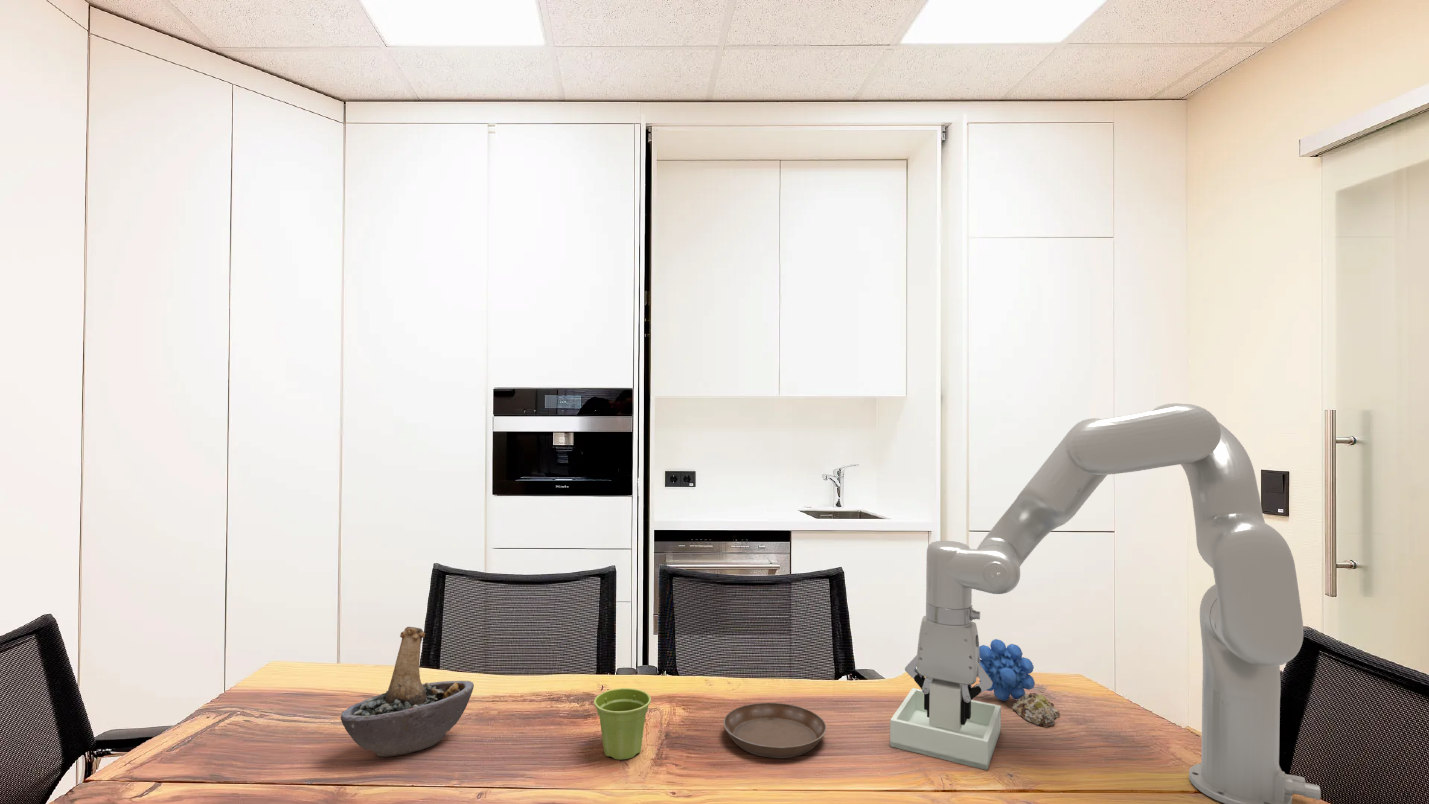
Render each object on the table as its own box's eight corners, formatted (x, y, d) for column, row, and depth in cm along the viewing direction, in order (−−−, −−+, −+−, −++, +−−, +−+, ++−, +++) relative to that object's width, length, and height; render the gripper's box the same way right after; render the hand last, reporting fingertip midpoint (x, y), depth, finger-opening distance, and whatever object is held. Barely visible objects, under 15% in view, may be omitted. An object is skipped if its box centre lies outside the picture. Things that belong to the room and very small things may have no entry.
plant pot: (596, 769, 113) (597, 714, 113) (590, 741, 123) (591, 690, 122) (655, 761, 116) (655, 708, 116) (645, 735, 125) (645, 685, 125)
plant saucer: (753, 709, 137) (753, 693, 137) (841, 732, 127) (841, 715, 127) (704, 747, 121) (704, 729, 121) (800, 777, 112) (800, 757, 112)
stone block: (964, 720, 126) (965, 680, 126) (959, 731, 122) (959, 690, 122) (935, 713, 128) (935, 674, 128) (929, 724, 124) (929, 684, 124)
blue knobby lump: (978, 708, 137) (978, 645, 137) (969, 693, 144) (970, 634, 144) (1041, 712, 136) (1042, 648, 136) (1030, 697, 143) (1031, 637, 143)
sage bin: (1000, 731, 128) (1000, 705, 128) (987, 770, 114) (987, 742, 114) (912, 711, 136) (912, 687, 136) (890, 746, 122) (890, 719, 122)
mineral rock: (1005, 690, 141) (1048, 683, 139) (1011, 712, 141) (1054, 705, 139) (1017, 716, 130) (1063, 708, 129) (1024, 739, 130) (1070, 732, 129)
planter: (477, 732, 125) (479, 618, 125) (413, 781, 109) (414, 650, 109) (406, 721, 129) (407, 610, 129) (333, 766, 113) (334, 640, 113)
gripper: (1003, 615, 124) (1002, 721, 124) (904, 601, 132) (903, 700, 132) (997, 627, 117) (996, 738, 118) (893, 611, 126) (892, 715, 126)
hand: (947, 717), depth 125 cm, fingers closed on stone block, 4 cm apart
